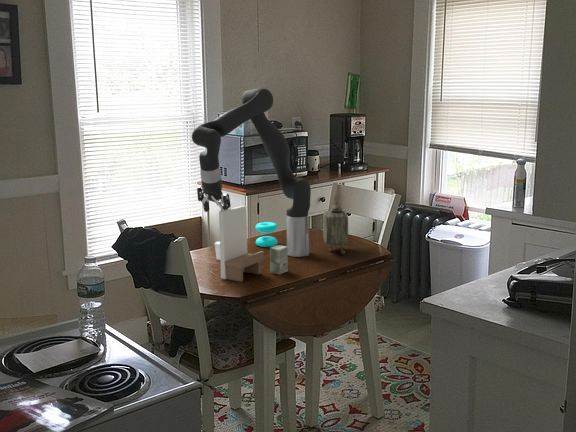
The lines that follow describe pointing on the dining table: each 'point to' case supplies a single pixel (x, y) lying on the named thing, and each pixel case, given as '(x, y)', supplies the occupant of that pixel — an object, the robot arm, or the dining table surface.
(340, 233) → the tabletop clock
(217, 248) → the shot glass
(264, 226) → the donuts
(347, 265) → the dining table surface
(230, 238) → the white display stand
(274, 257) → the sage cabinet
